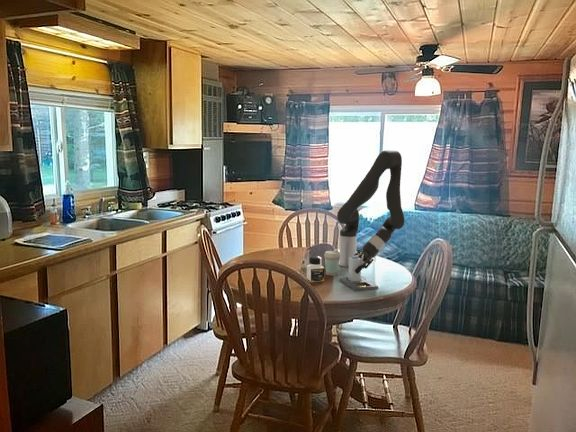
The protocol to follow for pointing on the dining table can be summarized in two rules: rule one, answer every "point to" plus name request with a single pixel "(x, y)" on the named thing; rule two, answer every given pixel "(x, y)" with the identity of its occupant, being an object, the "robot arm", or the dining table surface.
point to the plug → (353, 264)
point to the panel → (359, 284)
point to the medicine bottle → (315, 269)
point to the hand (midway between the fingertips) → (352, 270)
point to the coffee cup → (332, 262)
